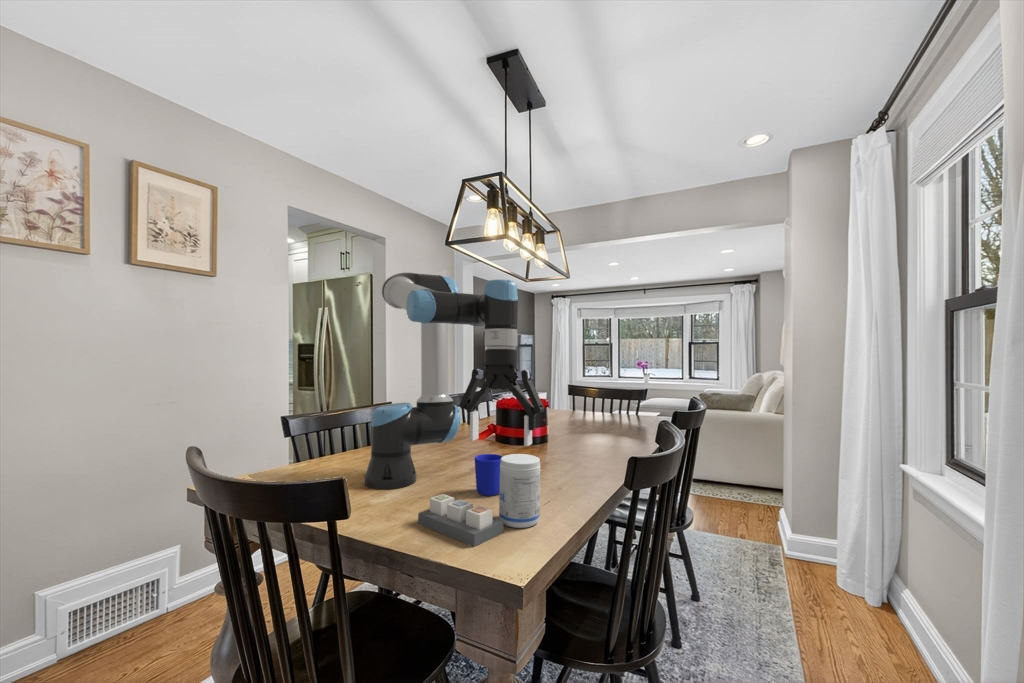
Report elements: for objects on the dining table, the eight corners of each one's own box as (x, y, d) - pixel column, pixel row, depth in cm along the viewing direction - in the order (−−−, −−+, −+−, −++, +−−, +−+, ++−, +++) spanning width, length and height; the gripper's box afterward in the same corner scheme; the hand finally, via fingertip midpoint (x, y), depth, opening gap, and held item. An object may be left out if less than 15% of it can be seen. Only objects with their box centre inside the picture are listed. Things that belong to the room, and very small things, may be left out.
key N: (429, 512, 100) (429, 497, 100) (442, 507, 103) (442, 493, 103) (441, 516, 98) (441, 501, 98) (454, 511, 101) (454, 496, 101)
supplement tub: (494, 515, 104) (495, 454, 104) (531, 511, 107) (531, 452, 107) (505, 531, 95) (506, 464, 95) (546, 527, 98) (546, 461, 98)
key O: (466, 525, 92) (466, 509, 93) (478, 520, 96) (479, 504, 96) (479, 530, 90) (479, 514, 90) (492, 524, 93) (492, 508, 93)
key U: (447, 518, 96) (447, 503, 96) (460, 513, 99) (460, 498, 99) (459, 523, 94) (459, 507, 94) (472, 517, 97) (472, 502, 97)
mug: (516, 498, 117) (517, 461, 117) (472, 497, 117) (473, 460, 117) (517, 488, 125) (517, 454, 125) (475, 488, 125) (476, 453, 125)
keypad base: (418, 524, 99) (418, 512, 99) (447, 512, 106) (447, 502, 106) (474, 546, 87) (474, 534, 87) (503, 532, 94) (503, 521, 94)
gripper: (445, 348, 100) (444, 440, 99) (546, 347, 89) (546, 450, 89) (462, 348, 107) (461, 435, 106) (558, 348, 96) (558, 444, 95)
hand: (500, 442), depth 97 cm, fingers open, 13 cm apart
